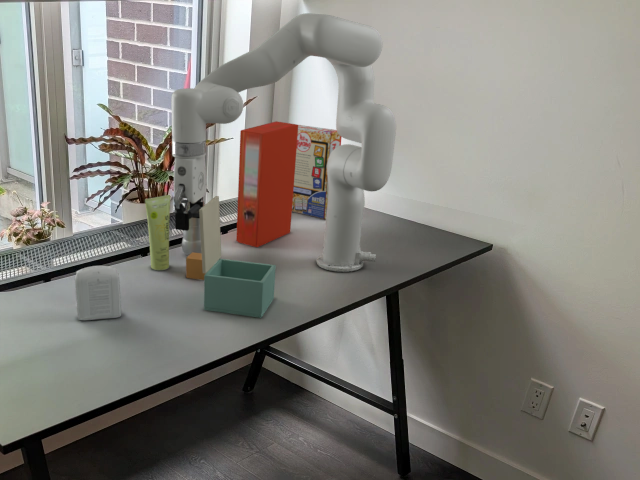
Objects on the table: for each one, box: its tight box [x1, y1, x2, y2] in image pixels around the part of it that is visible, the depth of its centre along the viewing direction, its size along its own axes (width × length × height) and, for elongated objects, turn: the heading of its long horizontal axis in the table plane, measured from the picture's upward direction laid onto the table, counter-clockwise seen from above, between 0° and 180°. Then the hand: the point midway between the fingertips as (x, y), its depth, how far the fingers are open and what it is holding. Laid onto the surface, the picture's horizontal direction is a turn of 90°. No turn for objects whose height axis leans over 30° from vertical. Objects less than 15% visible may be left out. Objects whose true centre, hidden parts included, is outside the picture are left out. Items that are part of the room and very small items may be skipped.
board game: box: [292, 124, 343, 220], centre depth 236 cm, size 20×6×27 cm, turn 46°
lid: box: [187, 195, 222, 273], centre depth 171 cm, size 15×12×5 cm
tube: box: [144, 194, 171, 271], centre depth 193 cm, size 6×5×20 cm
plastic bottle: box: [181, 199, 206, 256], centre depth 202 cm, size 6×7×20 cm
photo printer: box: [74, 265, 122, 321], centre depth 167 cm, size 10×4×12 cm, turn 103°
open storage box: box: [203, 258, 277, 319], centre depth 174 cm, size 14×12×9 cm
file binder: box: [235, 120, 299, 248], centre depth 212 cm, size 8×17×32 cm, turn 140°
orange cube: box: [185, 252, 212, 281], centre depth 191 cm, size 6×5×6 cm
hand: (189, 223), depth 171 cm, fingers open, 9 cm apart
